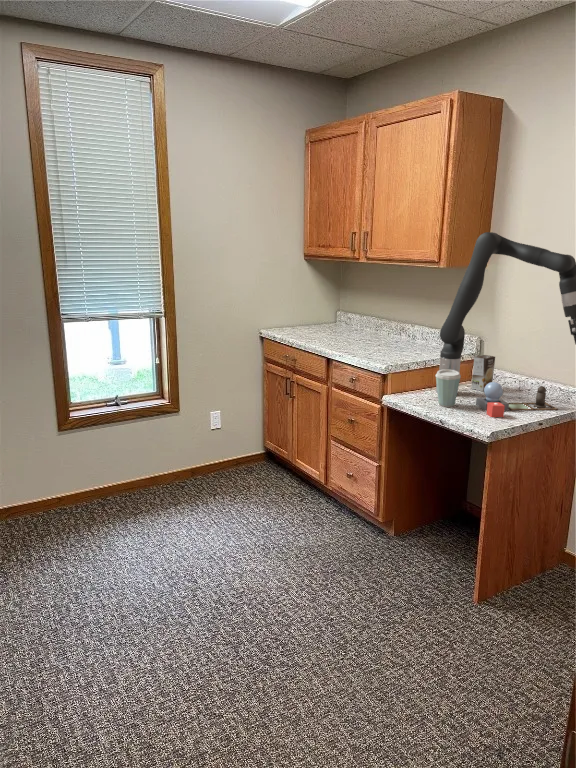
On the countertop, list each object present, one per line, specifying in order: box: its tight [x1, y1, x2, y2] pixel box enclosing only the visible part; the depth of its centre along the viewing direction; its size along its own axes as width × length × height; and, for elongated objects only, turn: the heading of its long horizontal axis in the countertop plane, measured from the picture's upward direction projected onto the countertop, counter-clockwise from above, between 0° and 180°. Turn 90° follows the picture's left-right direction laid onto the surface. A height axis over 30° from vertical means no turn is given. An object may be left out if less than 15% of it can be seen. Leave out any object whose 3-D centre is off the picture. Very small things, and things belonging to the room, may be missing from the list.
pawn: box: [533, 385, 547, 409], centre depth 243 cm, size 5×5×9 cm
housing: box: [475, 397, 509, 412], centre depth 242 cm, size 10×10×3 cm
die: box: [486, 402, 505, 419], centre depth 230 cm, size 5×5×5 cm
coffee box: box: [470, 354, 496, 392], centre depth 272 cm, size 9×6×16 cm
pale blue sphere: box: [483, 381, 504, 402], centre depth 241 cm, size 8×8×9 cm
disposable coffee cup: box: [435, 369, 462, 408], centre depth 243 cm, size 11×11×15 cm
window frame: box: [507, 401, 559, 412], centre depth 244 cm, size 21×10×1 cm, turn 94°
